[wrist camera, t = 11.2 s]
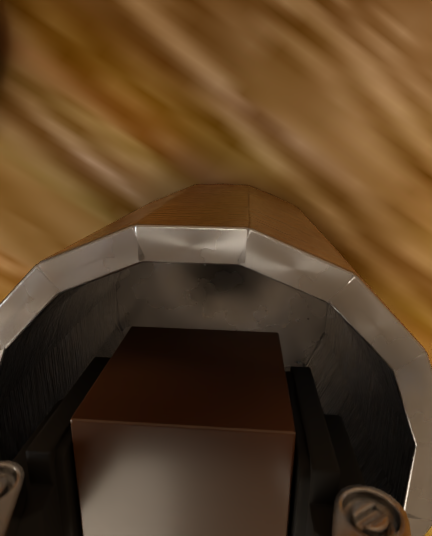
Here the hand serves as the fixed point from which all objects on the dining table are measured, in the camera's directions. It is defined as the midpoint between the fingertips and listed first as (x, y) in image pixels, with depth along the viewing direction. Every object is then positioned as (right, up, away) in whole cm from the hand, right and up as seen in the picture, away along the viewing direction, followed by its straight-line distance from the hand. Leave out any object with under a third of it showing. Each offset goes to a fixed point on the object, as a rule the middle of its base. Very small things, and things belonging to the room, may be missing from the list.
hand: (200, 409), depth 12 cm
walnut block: (0, 0, +1) cm, 1 cm away
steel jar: (+1, +2, +8) cm, 8 cm away
